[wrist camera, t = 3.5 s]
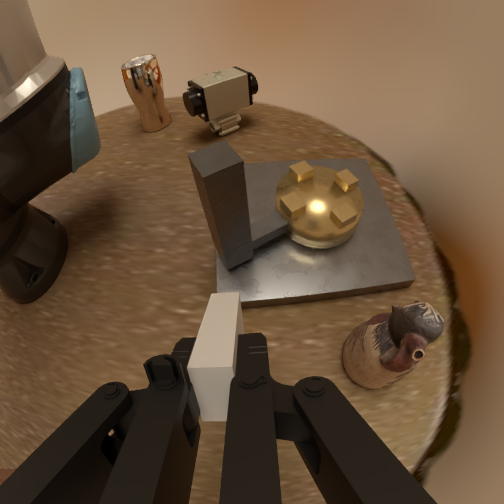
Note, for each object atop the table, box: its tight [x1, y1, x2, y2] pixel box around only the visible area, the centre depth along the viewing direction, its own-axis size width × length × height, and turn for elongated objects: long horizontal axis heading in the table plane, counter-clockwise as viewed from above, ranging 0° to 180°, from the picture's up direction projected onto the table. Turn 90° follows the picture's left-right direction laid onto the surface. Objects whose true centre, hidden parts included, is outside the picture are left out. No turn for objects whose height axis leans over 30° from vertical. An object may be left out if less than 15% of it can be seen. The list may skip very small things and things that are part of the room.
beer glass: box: [121, 54, 171, 132], centre depth 43 cm, size 7×7×15 cm
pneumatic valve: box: [183, 67, 258, 136], centre depth 41 cm, size 6×12×12 cm, turn 124°
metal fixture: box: [188, 140, 364, 270], centre depth 26 cm, size 18×10×13 cm, turn 119°
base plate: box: [216, 159, 416, 308], centre depth 33 cm, size 22×20×2 cm
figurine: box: [343, 301, 444, 389], centre depth 20 cm, size 7×7×12 cm
